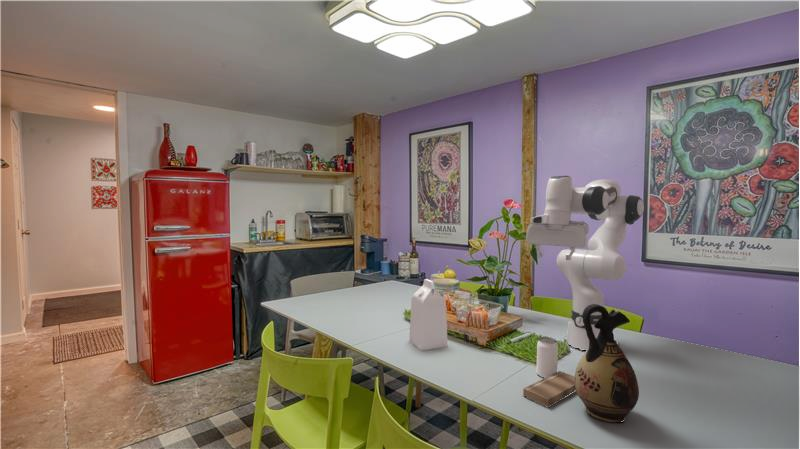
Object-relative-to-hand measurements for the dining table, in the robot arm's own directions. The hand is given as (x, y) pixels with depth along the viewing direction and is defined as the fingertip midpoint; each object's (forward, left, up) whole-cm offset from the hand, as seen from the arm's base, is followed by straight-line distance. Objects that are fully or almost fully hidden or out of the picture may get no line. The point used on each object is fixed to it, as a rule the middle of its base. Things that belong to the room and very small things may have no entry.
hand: (554, 258), depth 135 cm
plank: (+19, +13, -38) cm, 44 cm away
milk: (+24, -40, -38) cm, 60 cm away
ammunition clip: (+8, -28, -38) cm, 48 cm away
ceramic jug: (+20, +27, -38) cm, 50 cm away
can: (+11, +5, -38) cm, 40 cm away
